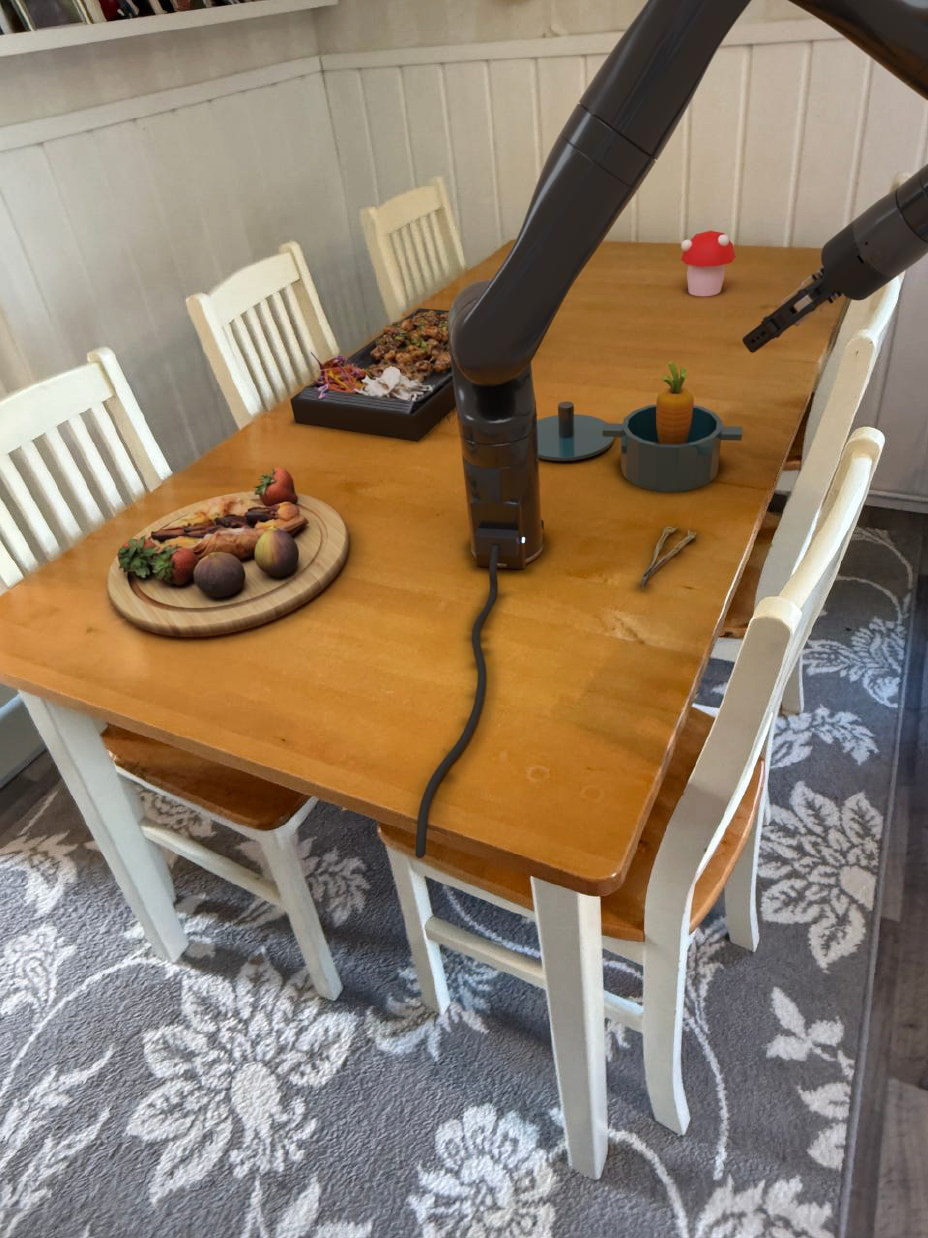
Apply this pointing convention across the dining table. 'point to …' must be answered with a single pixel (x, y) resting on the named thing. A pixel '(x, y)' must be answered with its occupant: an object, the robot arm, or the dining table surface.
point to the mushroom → (707, 261)
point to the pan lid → (570, 435)
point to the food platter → (386, 382)
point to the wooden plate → (229, 561)
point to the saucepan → (670, 450)
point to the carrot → (674, 409)
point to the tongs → (679, 546)
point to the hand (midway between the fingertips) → (763, 333)
